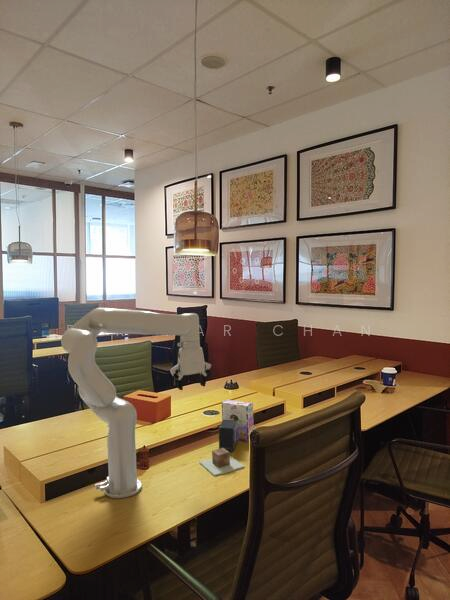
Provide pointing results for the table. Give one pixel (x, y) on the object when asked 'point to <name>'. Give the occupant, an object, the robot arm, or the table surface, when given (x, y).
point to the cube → (221, 457)
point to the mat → (218, 471)
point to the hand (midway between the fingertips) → (191, 387)
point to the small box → (228, 435)
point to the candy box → (239, 417)
